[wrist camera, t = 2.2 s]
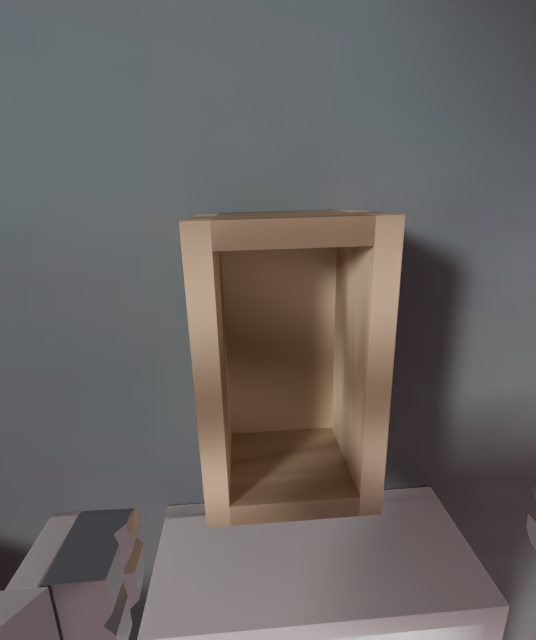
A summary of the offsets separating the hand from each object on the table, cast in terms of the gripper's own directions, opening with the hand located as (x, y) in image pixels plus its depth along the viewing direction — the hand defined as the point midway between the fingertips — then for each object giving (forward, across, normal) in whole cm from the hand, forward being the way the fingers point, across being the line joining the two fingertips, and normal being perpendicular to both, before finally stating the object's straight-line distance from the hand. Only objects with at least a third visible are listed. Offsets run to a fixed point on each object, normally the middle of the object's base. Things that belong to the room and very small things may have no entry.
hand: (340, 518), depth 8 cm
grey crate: (+10, -1, +15) cm, 18 cm away
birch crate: (+9, 0, -1) cm, 9 cm away
